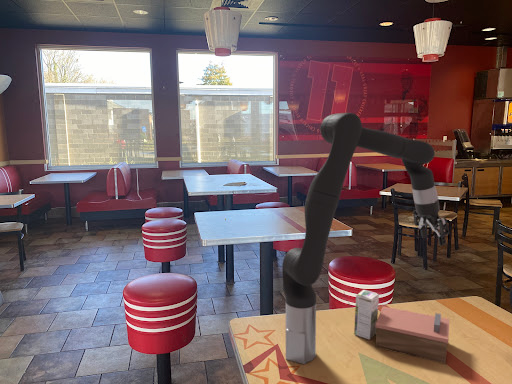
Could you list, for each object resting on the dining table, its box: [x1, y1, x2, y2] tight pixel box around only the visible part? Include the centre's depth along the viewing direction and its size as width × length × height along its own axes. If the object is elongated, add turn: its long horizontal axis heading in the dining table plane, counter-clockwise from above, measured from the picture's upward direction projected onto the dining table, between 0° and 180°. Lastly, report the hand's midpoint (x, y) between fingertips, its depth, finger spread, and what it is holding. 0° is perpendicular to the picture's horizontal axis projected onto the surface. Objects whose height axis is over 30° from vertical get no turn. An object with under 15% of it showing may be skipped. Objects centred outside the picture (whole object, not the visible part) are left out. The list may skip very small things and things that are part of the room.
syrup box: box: [353, 289, 380, 340], centre depth 128 cm, size 6×6×14 cm
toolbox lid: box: [375, 306, 450, 344], centre depth 121 cm, size 14×21×4 cm, turn 62°
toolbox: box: [375, 328, 448, 365], centre depth 122 cm, size 13×20×6 cm, turn 62°
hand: (433, 241), depth 134 cm, fingers open, 8 cm apart
